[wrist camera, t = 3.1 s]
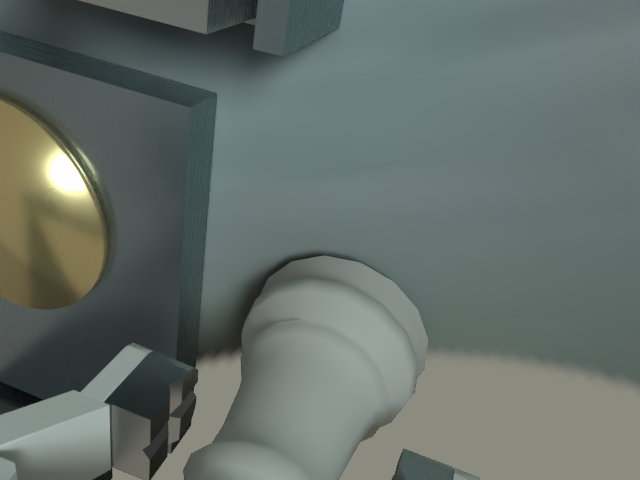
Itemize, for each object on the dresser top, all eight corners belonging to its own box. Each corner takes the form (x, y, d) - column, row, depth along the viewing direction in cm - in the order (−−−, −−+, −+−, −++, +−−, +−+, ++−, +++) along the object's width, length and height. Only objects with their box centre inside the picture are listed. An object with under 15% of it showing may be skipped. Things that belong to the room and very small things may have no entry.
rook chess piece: (324, 210, 14) (112, 489, 7) (471, 330, 14) (403, 715, 7) (234, 317, 16) (13, 599, 9) (359, 418, 16) (231, 763, 10)
